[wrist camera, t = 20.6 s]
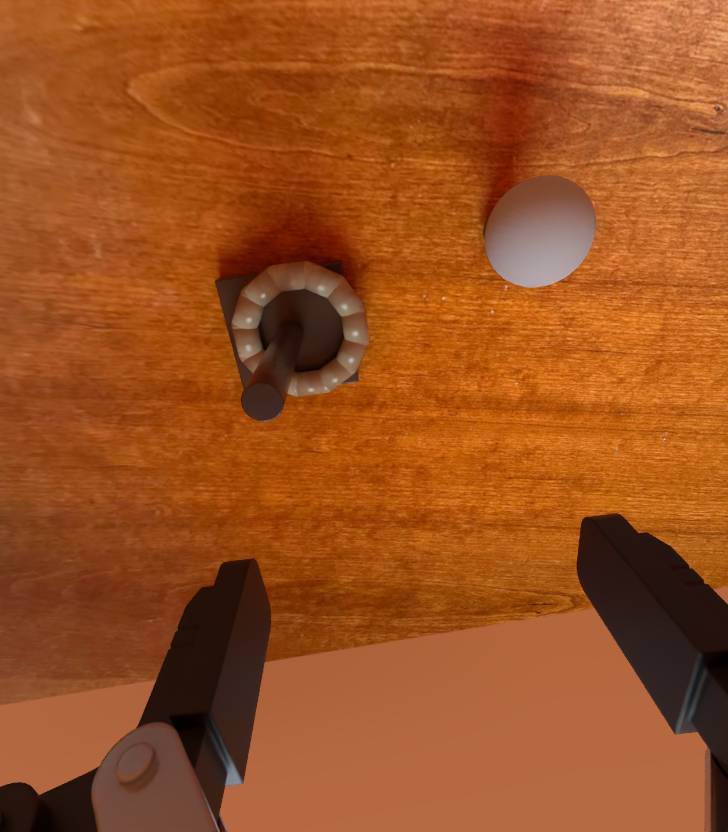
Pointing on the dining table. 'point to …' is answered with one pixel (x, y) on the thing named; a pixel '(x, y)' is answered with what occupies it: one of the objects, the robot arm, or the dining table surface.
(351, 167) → the dining table surface
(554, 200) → the light bulb
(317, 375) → the beige segmented ring
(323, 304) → the stand
